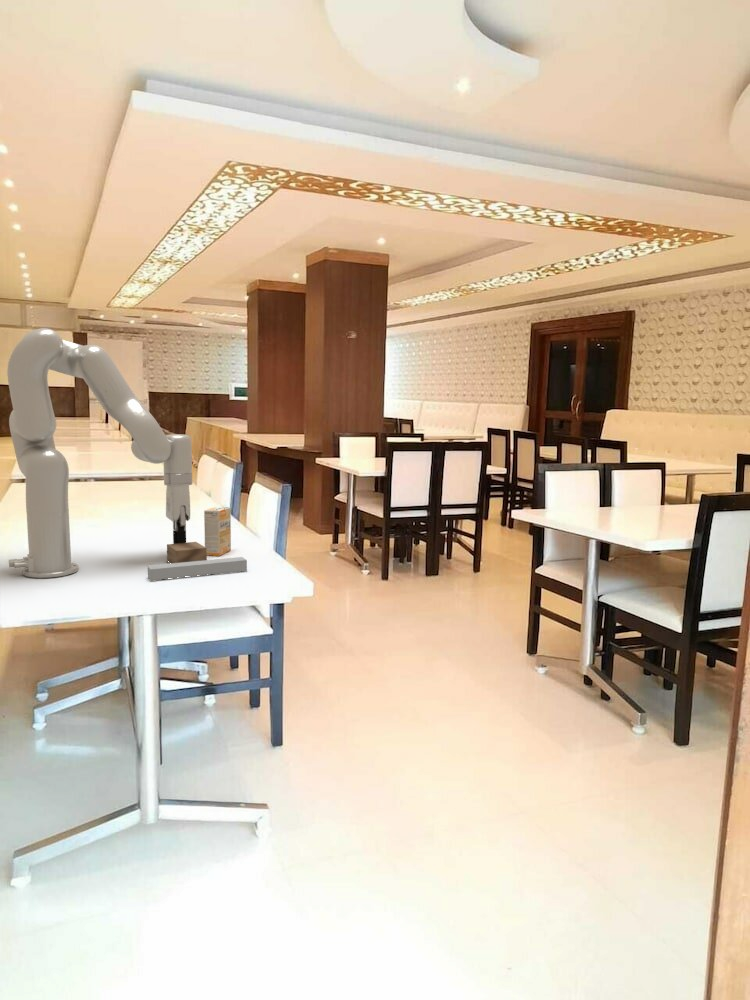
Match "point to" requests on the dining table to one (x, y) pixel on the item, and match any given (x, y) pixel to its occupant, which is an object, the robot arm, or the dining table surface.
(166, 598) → the dining table surface
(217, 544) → the supplement box
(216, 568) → the grey board
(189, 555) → the walnut block
